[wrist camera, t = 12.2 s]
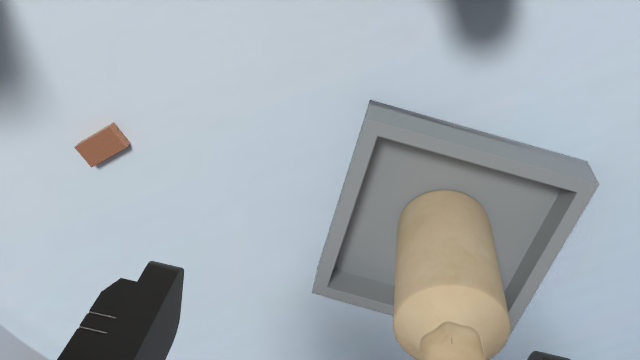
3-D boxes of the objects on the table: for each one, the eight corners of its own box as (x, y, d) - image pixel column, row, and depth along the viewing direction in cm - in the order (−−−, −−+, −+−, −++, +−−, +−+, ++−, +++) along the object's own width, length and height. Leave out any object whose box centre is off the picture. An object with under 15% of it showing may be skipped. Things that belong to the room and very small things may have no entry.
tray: (586, 161, 33) (599, 184, 30) (498, 318, 39) (503, 346, 37) (370, 99, 32) (367, 118, 30) (317, 267, 39) (311, 292, 37)
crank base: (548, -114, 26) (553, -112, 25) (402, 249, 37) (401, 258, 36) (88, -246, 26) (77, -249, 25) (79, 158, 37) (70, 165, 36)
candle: (509, 213, 34) (540, 339, 26) (457, 275, 37) (470, 407, 29) (427, 172, 34) (431, 287, 25) (381, 239, 36) (371, 363, 28)
